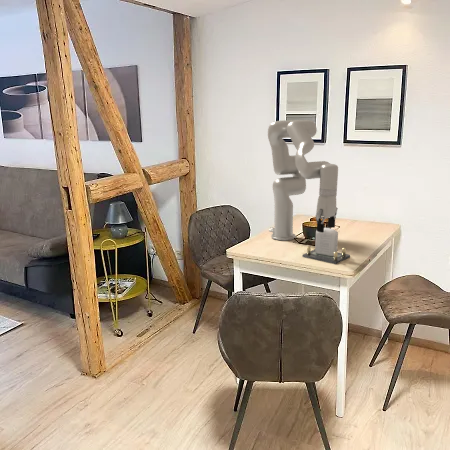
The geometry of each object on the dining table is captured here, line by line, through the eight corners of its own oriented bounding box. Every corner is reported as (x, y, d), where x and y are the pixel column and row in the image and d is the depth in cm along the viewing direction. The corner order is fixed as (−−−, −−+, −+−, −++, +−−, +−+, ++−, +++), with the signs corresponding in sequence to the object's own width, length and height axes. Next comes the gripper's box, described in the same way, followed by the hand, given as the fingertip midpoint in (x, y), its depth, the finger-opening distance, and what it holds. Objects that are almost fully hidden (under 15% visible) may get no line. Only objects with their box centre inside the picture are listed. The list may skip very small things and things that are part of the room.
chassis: (302, 256, 216) (302, 247, 214) (317, 250, 225) (317, 241, 224) (335, 264, 205) (336, 254, 203) (349, 256, 214) (350, 247, 213)
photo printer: (338, 254, 213) (339, 228, 210) (334, 257, 210) (335, 230, 207) (317, 251, 219) (318, 225, 216) (313, 253, 216) (314, 227, 213)
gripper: (330, 188, 216) (328, 223, 221) (310, 194, 204) (308, 232, 209) (345, 190, 211) (342, 226, 216) (325, 196, 199) (323, 235, 204)
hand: (325, 229), depth 212 cm, fingers open, 9 cm apart
